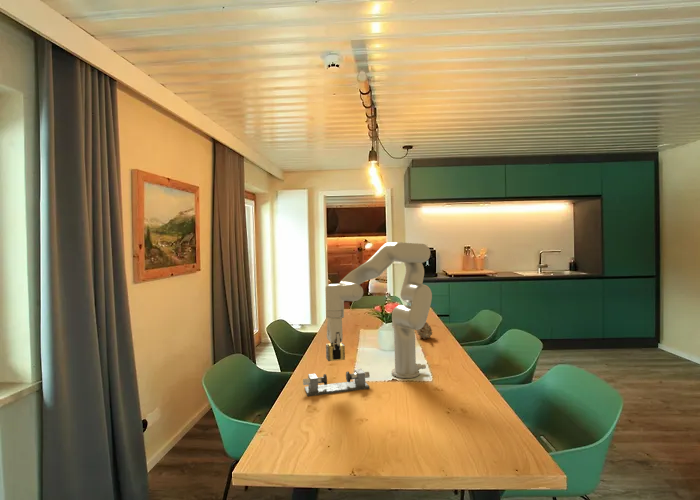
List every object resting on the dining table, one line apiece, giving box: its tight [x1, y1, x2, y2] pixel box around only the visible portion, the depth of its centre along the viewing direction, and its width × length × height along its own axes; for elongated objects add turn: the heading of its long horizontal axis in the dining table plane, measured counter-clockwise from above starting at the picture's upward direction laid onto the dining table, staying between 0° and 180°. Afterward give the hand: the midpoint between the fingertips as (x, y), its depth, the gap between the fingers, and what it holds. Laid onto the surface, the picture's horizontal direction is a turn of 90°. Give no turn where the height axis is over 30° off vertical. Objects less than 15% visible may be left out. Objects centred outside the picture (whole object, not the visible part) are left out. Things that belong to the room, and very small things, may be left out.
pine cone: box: [415, 321, 433, 340], centre depth 244 cm, size 22×10×10 cm, turn 3°
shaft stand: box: [302, 368, 370, 397], centre depth 168 cm, size 28×8×7 cm, turn 104°
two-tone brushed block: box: [325, 342, 346, 362], centre depth 167 cm, size 7×4×6 cm, turn 104°
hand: (335, 356), depth 167 cm, fingers closed on two-tone brushed block, 4 cm apart
